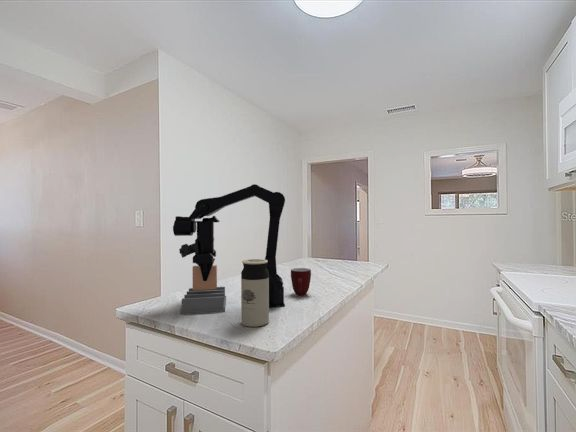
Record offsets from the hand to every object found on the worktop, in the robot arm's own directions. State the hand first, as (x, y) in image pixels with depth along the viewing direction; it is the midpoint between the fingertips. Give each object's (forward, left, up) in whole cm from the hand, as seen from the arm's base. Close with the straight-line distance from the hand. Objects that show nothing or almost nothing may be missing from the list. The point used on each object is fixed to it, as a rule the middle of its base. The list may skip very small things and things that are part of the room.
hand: (205, 280), depth 101 cm
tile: (0, 0, -3) cm, 3 cm away
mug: (-36, -7, -9) cm, 38 cm away
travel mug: (-16, +20, -9) cm, 27 cm away
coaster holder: (0, 0, -9) cm, 9 cm away
